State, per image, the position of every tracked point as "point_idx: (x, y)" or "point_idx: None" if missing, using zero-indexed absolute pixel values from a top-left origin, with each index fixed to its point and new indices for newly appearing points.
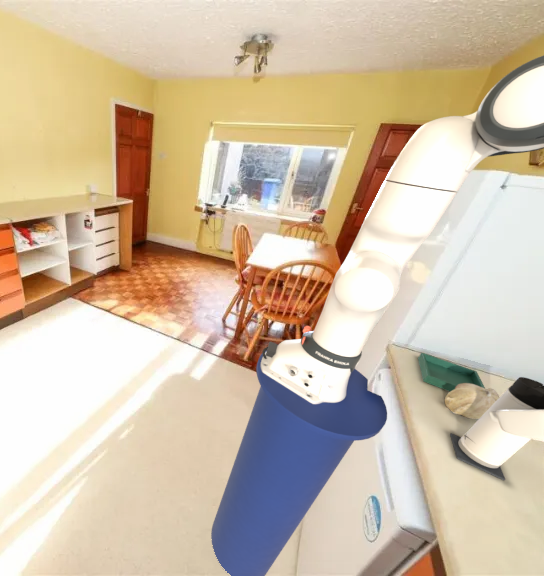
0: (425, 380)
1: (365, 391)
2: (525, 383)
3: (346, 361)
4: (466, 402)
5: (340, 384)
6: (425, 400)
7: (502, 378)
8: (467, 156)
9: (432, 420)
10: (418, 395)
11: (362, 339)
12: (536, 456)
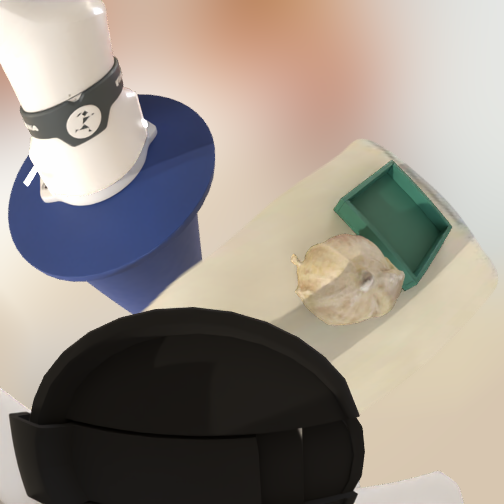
0: (336, 209)
1: (167, 196)
2: (144, 377)
3: (30, 122)
4: (309, 285)
5: (64, 171)
6: (275, 248)
7: (480, 252)
8: None
9: (221, 294)
10: (273, 233)
11: (19, 68)
12: (364, 408)
